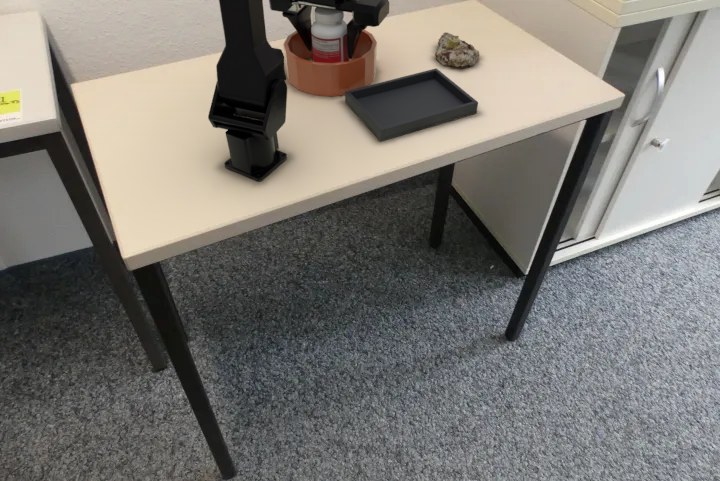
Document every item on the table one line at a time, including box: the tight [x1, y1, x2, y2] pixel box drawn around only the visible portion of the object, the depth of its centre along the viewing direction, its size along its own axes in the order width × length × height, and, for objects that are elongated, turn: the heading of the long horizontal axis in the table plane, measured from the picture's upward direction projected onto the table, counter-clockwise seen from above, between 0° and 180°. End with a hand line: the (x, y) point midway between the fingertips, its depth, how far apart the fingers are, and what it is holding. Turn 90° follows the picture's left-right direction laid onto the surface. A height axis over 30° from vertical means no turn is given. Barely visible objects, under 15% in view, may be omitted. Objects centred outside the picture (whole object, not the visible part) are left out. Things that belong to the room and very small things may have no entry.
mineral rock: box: [434, 32, 481, 68], centre depth 96 cm, size 11×4×8 cm
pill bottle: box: [311, 7, 350, 63], centre depth 88 cm, size 6×6×11 cm
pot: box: [283, 29, 378, 97], centre depth 90 cm, size 15×15×6 cm
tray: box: [344, 68, 479, 142], centre depth 84 cm, size 17×12×2 cm
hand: (331, 53), depth 90 cm, fingers closed on pill bottle, 7 cm apart
